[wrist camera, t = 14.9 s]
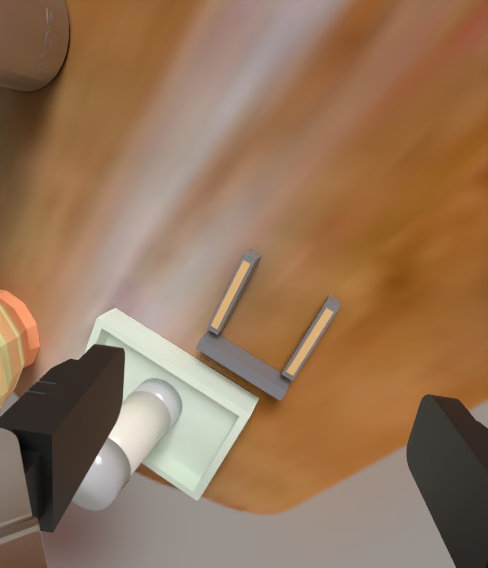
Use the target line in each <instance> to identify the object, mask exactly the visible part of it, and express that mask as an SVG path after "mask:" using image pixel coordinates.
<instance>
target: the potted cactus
mask: <svg viewBox="0 0 488 568" xmlns="http://www.w3.org/2000/svg"><path fill="white" fill-rule="evenodd" d="M39 348H40V341H39V334H38V327H37V324H36V322H35V320H34V319H33V317H32V315H31V313H30V312H29V310H28V308H27V307H26V305H25V304H24V303H23V302H22V301H20V300H19V299H18V298H16V297H15V296H14V295H12V294H11V293H10V292H8V291H7V290H0V411H1V408H2V406H3V403H4V402H5V400H6V399H7V398H8V397H9V396H10V394H11V393H12V392H13V391H14V389H15V387H16V385H17V382H18V379H19V377H20V374H21V372H22V369H23V368H25V367H27V366H29V365H31V364H33V363H34V361H35V358H36V356H37V353H38V351H39Z"/></svg>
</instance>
